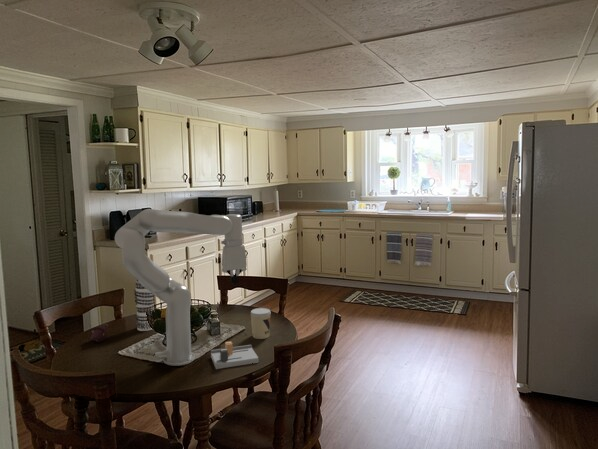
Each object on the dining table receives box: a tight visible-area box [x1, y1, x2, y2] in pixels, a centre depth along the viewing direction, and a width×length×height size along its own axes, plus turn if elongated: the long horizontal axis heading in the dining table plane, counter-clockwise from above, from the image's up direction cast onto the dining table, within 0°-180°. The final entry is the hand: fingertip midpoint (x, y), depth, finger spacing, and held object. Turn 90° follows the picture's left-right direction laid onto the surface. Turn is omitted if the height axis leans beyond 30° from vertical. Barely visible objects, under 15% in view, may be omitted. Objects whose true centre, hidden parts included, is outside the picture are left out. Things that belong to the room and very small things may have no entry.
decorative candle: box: [133, 278, 155, 332], centre depth 222 cm, size 9×9×25 cm
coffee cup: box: [250, 307, 272, 340], centre depth 212 cm, size 9×9×12 cm
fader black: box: [219, 347, 228, 362], centre depth 181 cm, size 2×3×4 cm
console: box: [210, 344, 259, 370], centre depth 186 cm, size 17×12×3 cm
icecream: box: [89, 323, 109, 343], centre depth 207 cm, size 7×7×15 cm
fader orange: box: [224, 341, 234, 354], centre depth 188 cm, size 2×3×4 cm
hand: (234, 284), depth 199 cm, fingers closed
